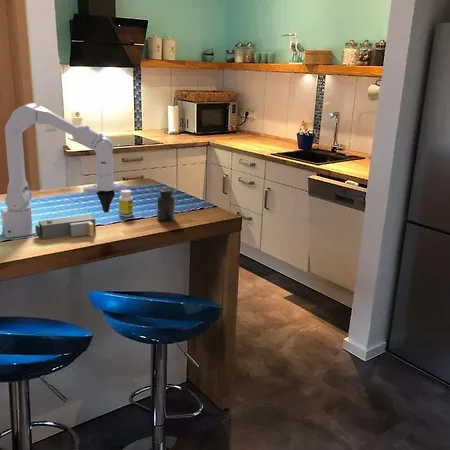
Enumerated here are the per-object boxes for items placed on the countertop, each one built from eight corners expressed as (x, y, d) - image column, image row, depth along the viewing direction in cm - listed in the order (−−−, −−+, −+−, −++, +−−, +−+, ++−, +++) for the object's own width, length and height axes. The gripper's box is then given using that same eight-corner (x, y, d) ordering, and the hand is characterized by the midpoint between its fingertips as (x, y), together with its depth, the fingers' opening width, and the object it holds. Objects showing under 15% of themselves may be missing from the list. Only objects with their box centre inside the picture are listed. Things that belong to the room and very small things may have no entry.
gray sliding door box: (38, 240, 166) (37, 224, 164) (35, 235, 170) (34, 219, 169) (95, 232, 176) (95, 217, 174) (91, 227, 180) (90, 213, 179)
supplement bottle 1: (129, 217, 194) (129, 193, 190) (116, 216, 195) (116, 191, 191) (135, 213, 199) (135, 189, 195) (122, 212, 200) (122, 188, 196)
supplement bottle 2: (153, 220, 192) (153, 190, 188) (162, 215, 198) (162, 186, 194) (169, 223, 190) (169, 193, 186) (177, 218, 196) (178, 189, 192)
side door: (73, 239, 168) (72, 226, 167) (70, 235, 171) (69, 223, 170) (93, 236, 172) (93, 224, 171) (90, 232, 175) (90, 220, 173)
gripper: (87, 177, 161) (88, 217, 166) (129, 174, 169) (129, 212, 173) (80, 172, 167) (82, 211, 171) (122, 169, 174) (122, 206, 179)
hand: (105, 211), depth 173 cm, fingers closed
